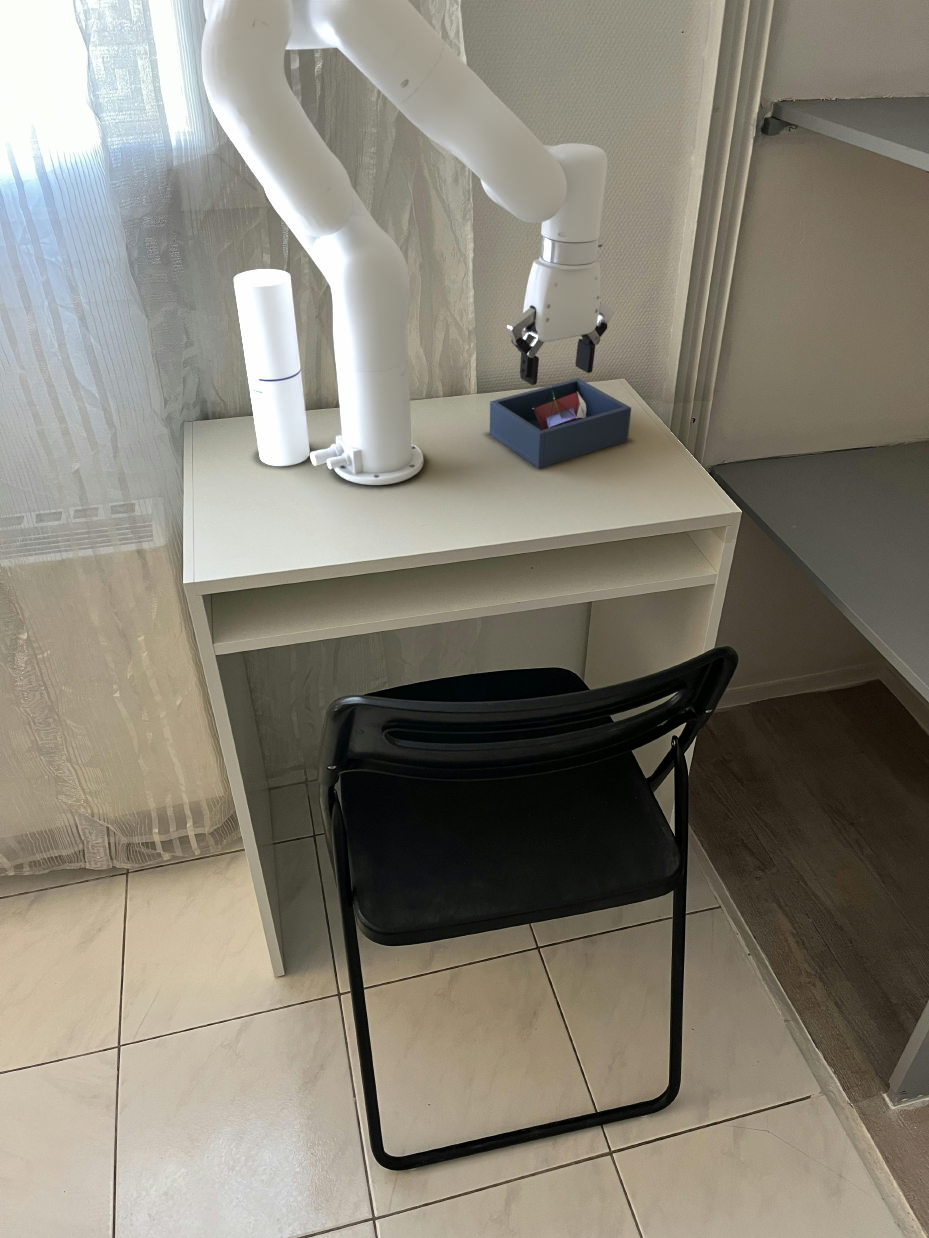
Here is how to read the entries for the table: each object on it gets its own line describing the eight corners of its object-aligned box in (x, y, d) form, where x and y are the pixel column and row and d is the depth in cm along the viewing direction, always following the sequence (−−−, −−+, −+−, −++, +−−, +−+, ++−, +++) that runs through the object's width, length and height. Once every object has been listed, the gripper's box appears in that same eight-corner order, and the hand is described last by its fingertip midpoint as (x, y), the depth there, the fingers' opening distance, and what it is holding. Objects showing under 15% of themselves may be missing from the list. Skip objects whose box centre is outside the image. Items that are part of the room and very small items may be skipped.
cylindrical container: (300, 468, 131) (278, 288, 116) (252, 463, 132) (224, 284, 117) (316, 445, 137) (298, 271, 122) (270, 441, 138) (246, 267, 123)
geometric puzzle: (525, 430, 134) (561, 387, 130) (521, 409, 139) (555, 368, 136) (563, 456, 137) (599, 415, 133) (557, 435, 142) (592, 395, 138)
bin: (538, 468, 131) (539, 433, 128) (489, 434, 139) (489, 401, 136) (627, 441, 138) (631, 407, 134) (575, 410, 146) (578, 378, 143)
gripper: (602, 236, 129) (588, 357, 139) (497, 250, 121) (490, 377, 131) (638, 250, 124) (620, 374, 134) (530, 265, 116) (521, 396, 126)
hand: (556, 375), depth 132 cm, fingers open, 9 cm apart
